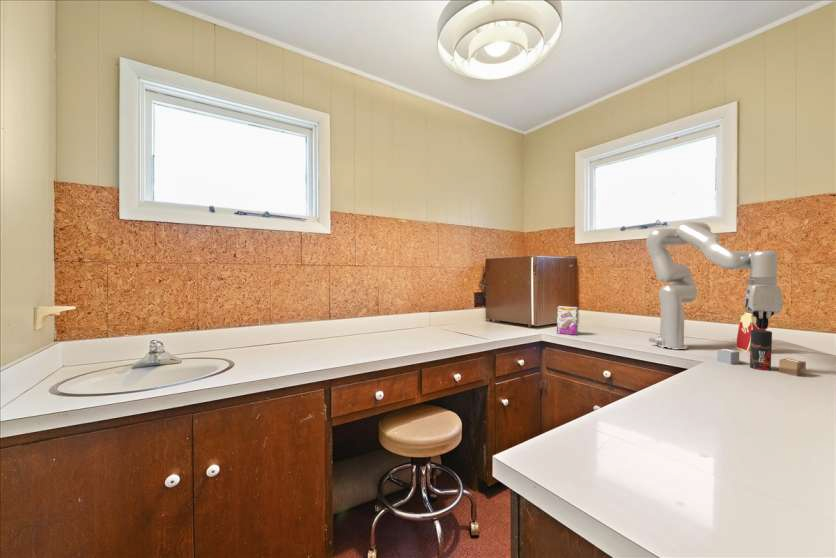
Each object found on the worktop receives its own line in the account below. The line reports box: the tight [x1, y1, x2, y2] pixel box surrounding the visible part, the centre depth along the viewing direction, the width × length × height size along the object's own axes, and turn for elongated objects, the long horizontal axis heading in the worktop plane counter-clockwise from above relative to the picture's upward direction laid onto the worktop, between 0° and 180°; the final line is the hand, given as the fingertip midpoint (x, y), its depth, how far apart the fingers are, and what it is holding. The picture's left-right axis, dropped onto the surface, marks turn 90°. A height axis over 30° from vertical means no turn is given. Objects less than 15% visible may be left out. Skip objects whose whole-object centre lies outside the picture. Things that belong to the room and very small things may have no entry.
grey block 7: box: [716, 348, 740, 365], centre depth 143 cm, size 5×5×5 cm
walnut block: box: [778, 357, 807, 377], centre depth 128 cm, size 5×5×5 cm
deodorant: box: [749, 329, 773, 372], centre depth 135 cm, size 6×6×15 cm
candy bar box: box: [556, 305, 579, 336], centre depth 203 cm, size 11×5×16 cm, turn 58°
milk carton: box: [735, 310, 768, 353], centre depth 161 cm, size 9×9×20 cm
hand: (762, 328), depth 134 cm, fingers closed
